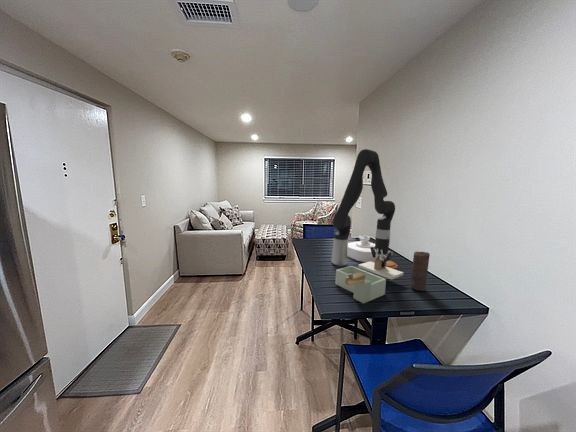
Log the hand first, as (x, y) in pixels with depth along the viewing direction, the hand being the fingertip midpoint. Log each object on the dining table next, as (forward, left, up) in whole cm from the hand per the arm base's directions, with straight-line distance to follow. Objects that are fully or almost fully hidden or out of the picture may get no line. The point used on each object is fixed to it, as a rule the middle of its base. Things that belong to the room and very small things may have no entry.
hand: (380, 266), depth 143 cm
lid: (0, 0, -3) cm, 3 cm away
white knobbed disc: (-32, +28, -8) cm, 44 cm away
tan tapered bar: (+10, -34, +3) cm, 35 cm away
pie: (-8, +17, -8) cm, 20 cm away
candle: (+19, +6, -8) cm, 21 cm away
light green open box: (+2, -22, -8) cm, 24 cm away
